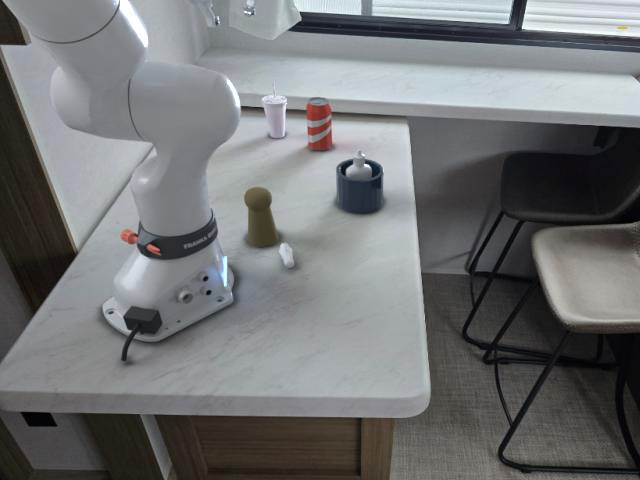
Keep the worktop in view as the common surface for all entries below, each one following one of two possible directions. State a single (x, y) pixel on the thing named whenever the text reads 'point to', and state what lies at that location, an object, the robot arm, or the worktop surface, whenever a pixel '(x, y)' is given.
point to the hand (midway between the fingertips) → (232, 21)
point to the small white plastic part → (286, 255)
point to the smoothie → (275, 113)
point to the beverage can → (319, 123)
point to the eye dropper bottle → (359, 168)
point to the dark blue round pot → (359, 189)
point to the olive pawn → (260, 217)
